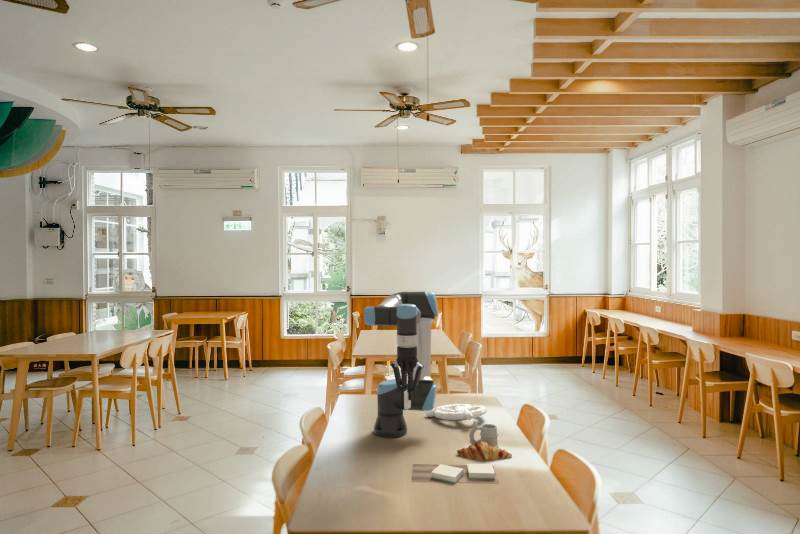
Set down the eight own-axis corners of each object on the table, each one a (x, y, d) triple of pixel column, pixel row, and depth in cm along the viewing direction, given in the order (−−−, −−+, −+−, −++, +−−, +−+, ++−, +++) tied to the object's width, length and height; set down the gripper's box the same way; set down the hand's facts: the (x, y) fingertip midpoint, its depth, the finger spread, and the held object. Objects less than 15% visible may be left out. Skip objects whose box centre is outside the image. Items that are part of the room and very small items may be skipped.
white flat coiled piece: (421, 421, 245) (420, 408, 245) (450, 412, 262) (449, 400, 263) (467, 426, 226) (466, 411, 226) (495, 416, 243) (494, 402, 243)
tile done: (467, 469, 181) (467, 463, 181) (491, 469, 180) (491, 464, 180) (468, 478, 173) (468, 472, 173) (494, 479, 172) (494, 473, 172)
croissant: (510, 465, 195) (509, 444, 199) (514, 463, 186) (513, 440, 190) (456, 463, 197) (456, 442, 201) (457, 460, 188) (457, 438, 192)
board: (412, 467, 185) (412, 464, 185) (493, 468, 184) (493, 465, 184) (411, 485, 170) (411, 481, 170) (499, 487, 169) (499, 483, 169)
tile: (440, 464, 180) (463, 468, 176) (440, 469, 180) (463, 474, 176) (431, 472, 173) (455, 477, 169) (431, 477, 173) (455, 483, 169)
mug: (499, 454, 198) (499, 424, 198) (469, 453, 199) (469, 423, 199) (497, 447, 205) (497, 418, 205) (469, 446, 207) (469, 417, 207)
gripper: (386, 346, 184) (387, 408, 185) (418, 348, 178) (419, 413, 179) (396, 342, 191) (396, 403, 192) (427, 345, 185) (427, 407, 186)
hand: (407, 408), depth 185 cm, fingers closed
